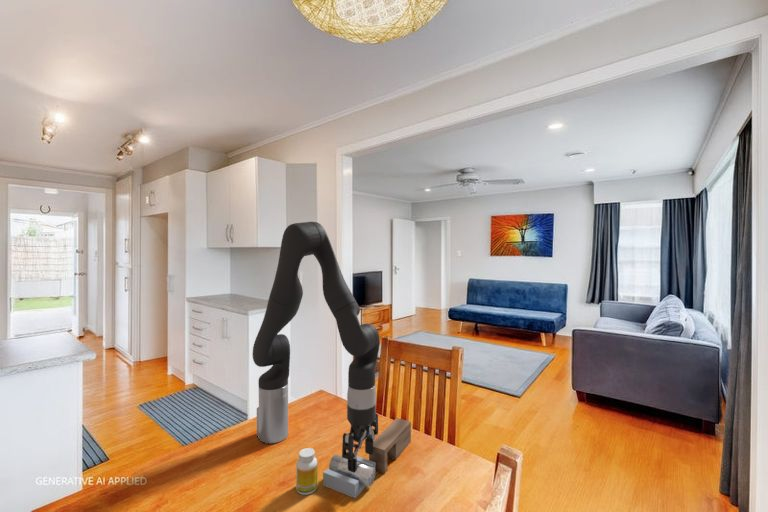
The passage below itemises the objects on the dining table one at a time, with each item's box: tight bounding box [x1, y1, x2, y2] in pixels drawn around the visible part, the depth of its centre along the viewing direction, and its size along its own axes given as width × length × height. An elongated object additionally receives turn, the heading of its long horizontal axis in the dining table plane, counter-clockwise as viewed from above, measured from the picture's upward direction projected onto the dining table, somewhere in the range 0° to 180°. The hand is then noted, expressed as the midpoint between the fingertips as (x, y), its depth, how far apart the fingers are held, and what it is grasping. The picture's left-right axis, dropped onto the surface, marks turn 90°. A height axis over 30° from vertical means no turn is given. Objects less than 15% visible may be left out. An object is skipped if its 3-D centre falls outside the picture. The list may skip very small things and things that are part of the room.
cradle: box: [322, 451, 377, 499], centre depth 94 cm, size 10×10×4 cm
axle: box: [328, 454, 376, 487], centre depth 94 cm, size 12×4×4 cm, turn 62°
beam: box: [368, 417, 412, 474], centre depth 106 cm, size 5×18×7 cm, turn 152°
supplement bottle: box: [295, 447, 318, 496], centre depth 91 cm, size 5×5×10 cm
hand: (361, 461), depth 93 cm, fingers open, 8 cm apart
